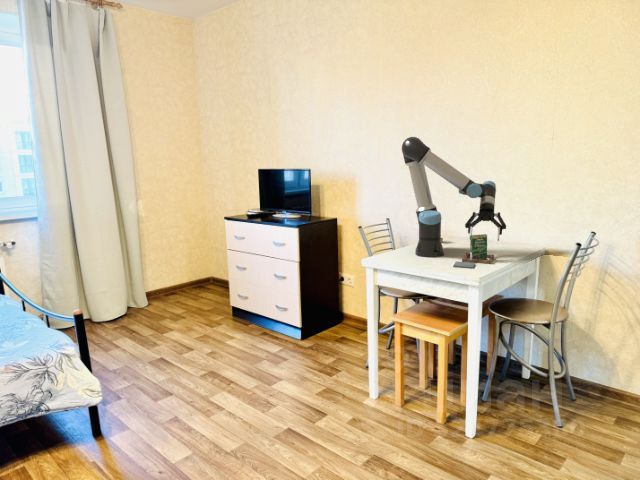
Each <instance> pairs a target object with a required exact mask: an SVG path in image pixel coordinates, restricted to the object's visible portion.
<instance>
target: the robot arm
mask: <svg viewBox="0 0 640 480" xmlns="http://www.w3.org/2000/svg"><path fill="white" fill-rule="evenodd" d="M401 152H402V156H403V161H404V164H405V166H407V167H408V170H409V174H410V179H411V184H412V188H413V191H414V198H415V201H416V206H417V208H416V210H415V214H416V217H417V224H418V241H417V244H416V248H415V251H414V252H415V255H416V256H420V257H425V258H435V257H436V258H437V257H442V256H444V254H445V251H444V250H445V249H444V247H443V243H442V241H441V238H442V214H441V212H440V211H438V209H437V205H436V204H434V203H433V202H434V201H433V198H432V195H431V194H432V193H431V189H430V185H429V181H428V176H427V172H426V168H425V167H427V168H428V169H429V170H431V171H432V172H434V173H435V174H436V175H437V176H440V177H441V178H442V179H444V180H445V181H446V182H448V183H449V184H451V185H452V186H453V187H456V189H458V194H460V195H463V196H468V197H469V198H471V199H477V198H480V200H479V208H478V213H477V212H476V211H473V212H472V215H471V216H470V217H469V218H468V220H467V221H466V223H465V224H464V227H465V229H467V234H468V235H469V236H470V235H473V228H474V227H476V225H478V224H479V223H480V222H491V223H493V224H494V225H495V227H497V242H499V241H500V236H502V235H503V230H506V229H507V225H506V223H505V221H504V219H503V218H502V216H501V212H496V213H495V206H496V193H497V185H496V183H495V182H494V181H492V180H488V181H487V180H486V181H483V182H482V183H477V182H475V181H474V180H472V179H470V178H469V177H468V176H466V175H465V174H463V173H462V172H461V171H460V170H458V169H457V168H455V167H453V166H452V165H451V164H450V163H448V162H447V161H445V160H444V159H442V158H441V157H440V156H439V155H437V154H435V153H434V152H432V150H431V147H430V146H427V145H426V144H425V143H424V142H423V141H422V140H421V139H420V138H418V137H416V136H409V137H407V138H406V139H405V140H404V141H403V142H402V144H401ZM497 219H498V221H499V222H498V221H497Z"/></svg>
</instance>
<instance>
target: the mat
mask: <svg viewBox="0 0 640 480" xmlns="http://www.w3.org/2000/svg"><path fill="white" fill-rule="evenodd" d="M475 265H476V263H471V262H462V261H455V262H454V264H453V265H452V267H453V268H458V269H459V268H462V269H474V267H475Z"/></svg>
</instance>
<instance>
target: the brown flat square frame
mask: <svg viewBox="0 0 640 480" xmlns="http://www.w3.org/2000/svg"><path fill="white" fill-rule="evenodd" d="M494 258H495V254H489V253H487V260H478V259H470V253H469V252H466V253H465V254H464V256H463V257H462V258H461V262H471V263H475V264H483V265H484V264H485V265H486V264H487V265H493V264H492V263H493V261H494Z"/></svg>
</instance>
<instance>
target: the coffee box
mask: <svg viewBox="0 0 640 480" xmlns="http://www.w3.org/2000/svg"><path fill="white" fill-rule="evenodd" d="M469 242H470V245H469V247H470V248H469V252H470V257H469V259H478V260H488V258H487V254H488V234H487V233H485V234H472V235H470V234H469Z"/></svg>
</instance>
